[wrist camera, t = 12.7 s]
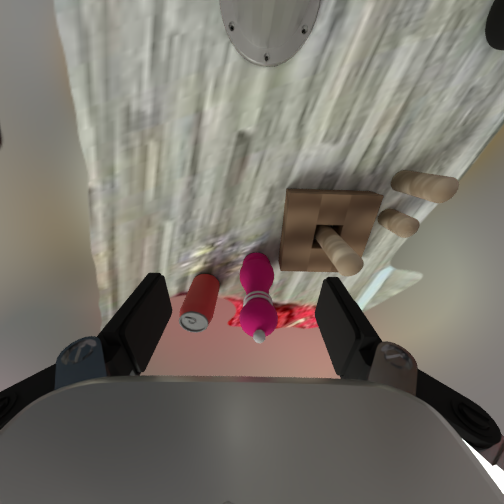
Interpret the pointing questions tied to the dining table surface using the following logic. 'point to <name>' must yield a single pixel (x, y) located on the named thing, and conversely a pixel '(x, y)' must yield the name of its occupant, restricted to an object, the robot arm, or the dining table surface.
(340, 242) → the long pin
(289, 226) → the hole block
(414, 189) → the medium pin
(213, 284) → the beer can
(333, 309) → the robot arm
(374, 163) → the dining table surface
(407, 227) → the short pin
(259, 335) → the pepper mill
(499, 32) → the cola bottle
